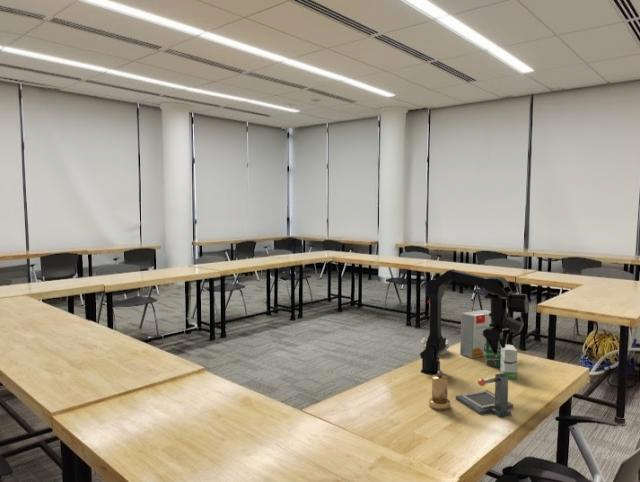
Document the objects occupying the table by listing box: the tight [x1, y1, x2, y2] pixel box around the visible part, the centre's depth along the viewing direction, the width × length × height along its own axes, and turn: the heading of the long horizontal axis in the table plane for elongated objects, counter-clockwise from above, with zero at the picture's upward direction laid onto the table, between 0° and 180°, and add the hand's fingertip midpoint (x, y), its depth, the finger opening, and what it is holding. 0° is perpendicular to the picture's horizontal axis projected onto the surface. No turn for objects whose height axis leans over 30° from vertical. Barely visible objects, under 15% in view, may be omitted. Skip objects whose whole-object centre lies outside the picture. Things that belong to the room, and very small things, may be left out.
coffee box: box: [485, 340, 501, 368], centre depth 194 cm, size 8×3×13 cm, turn 59°
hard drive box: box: [459, 309, 493, 359], centre depth 209 cm, size 16×8×20 cm, turn 117°
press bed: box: [455, 372, 514, 418], centre depth 155 cm, size 17×16×13 cm
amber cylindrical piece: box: [428, 370, 451, 412], centre depth 155 cm, size 7×7×12 cm
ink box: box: [499, 344, 518, 380], centre depth 183 cm, size 9×5×12 cm, turn 168°
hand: (499, 350), depth 170 cm, fingers open, 9 cm apart
